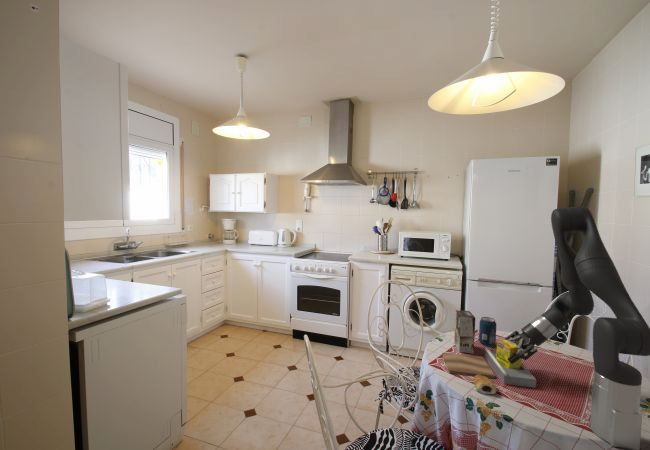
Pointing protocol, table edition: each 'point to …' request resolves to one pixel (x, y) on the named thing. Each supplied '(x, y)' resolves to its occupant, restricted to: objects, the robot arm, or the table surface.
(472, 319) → the coffee box
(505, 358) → the supplement box
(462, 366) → the tan flat board
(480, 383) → the pastry
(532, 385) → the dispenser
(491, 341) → the soda can
